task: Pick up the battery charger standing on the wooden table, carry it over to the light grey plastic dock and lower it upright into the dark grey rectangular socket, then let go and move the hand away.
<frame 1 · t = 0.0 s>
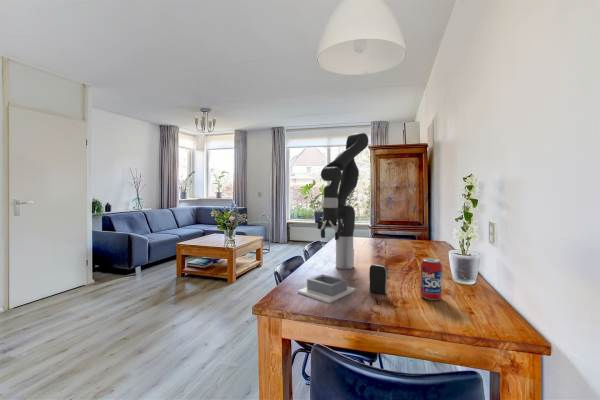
hand: (329, 238, 149), 17 cm above the table, tool pointing down, fingers open, 8 cm apart
soda can: (430, 298, 116), on the table
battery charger: (378, 292, 122), on the table
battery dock: (326, 291, 123), on the table
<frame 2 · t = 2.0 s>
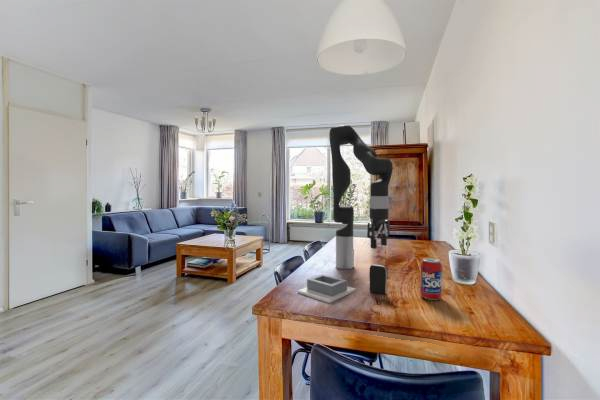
hand: (378, 246, 121), 19 cm above the table, tool pointing down, fingers open, 8 cm apart
nothing on the table moved.
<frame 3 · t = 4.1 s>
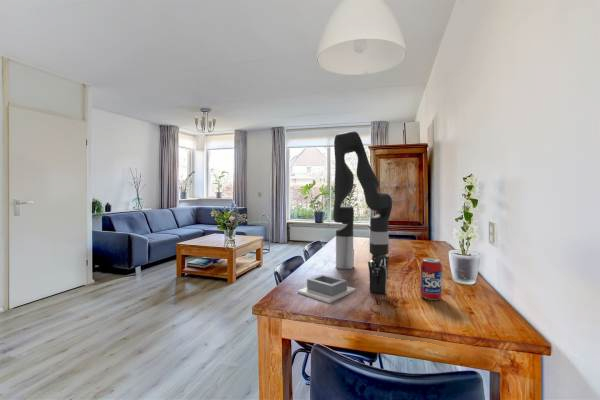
hand: (378, 283, 122), 4 cm above the table, tool pointing down, fingers closed on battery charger, 4 cm apart
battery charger: (378, 292, 122), on the table, touching gripper
everything else where it was.
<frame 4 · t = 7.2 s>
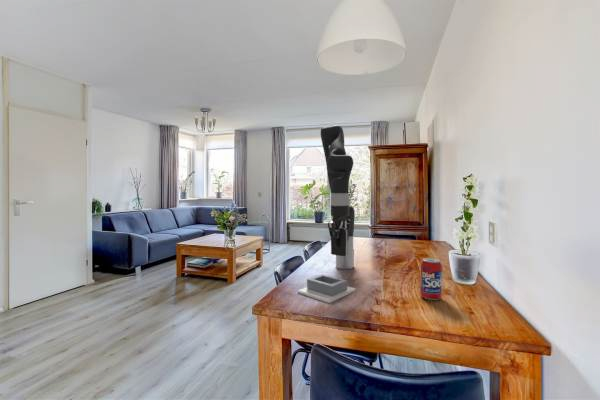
hand: (339, 245, 122), 19 cm above the table, tool pointing down, fingers closed on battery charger, 4 cm apart
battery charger: (339, 255, 122), point 15 cm above the table, touching gripper
everything else where it was.
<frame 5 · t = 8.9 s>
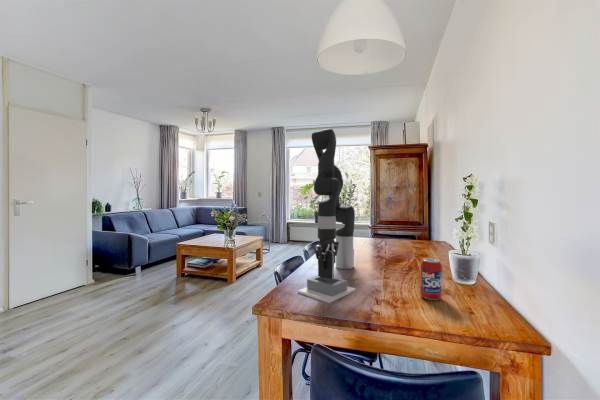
hand: (326, 267, 122), 10 cm above the table, tool pointing down, fingers closed on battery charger, 4 cm apart
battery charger: (326, 277, 123), point 6 cm above the table, touching gripper
everything else where it was.
when the fingers open (6 cm above the table, at t = 10.1 s): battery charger stays where it is, resting on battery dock.
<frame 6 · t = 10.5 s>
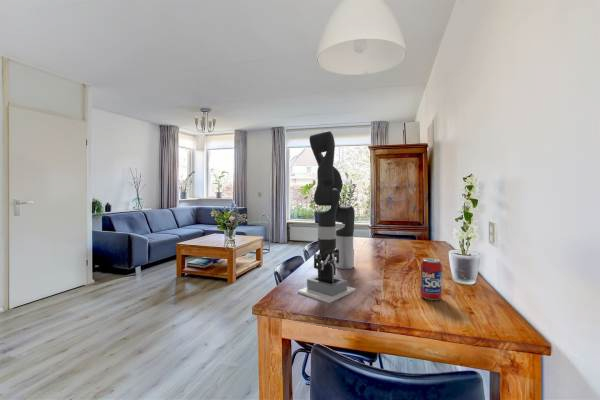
hand: (326, 276, 122), 6 cm above the table, tool pointing down, fingers open, 7 cm apart
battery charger: (327, 289, 123), point 1 cm above the table, touching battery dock
everything else where it was.
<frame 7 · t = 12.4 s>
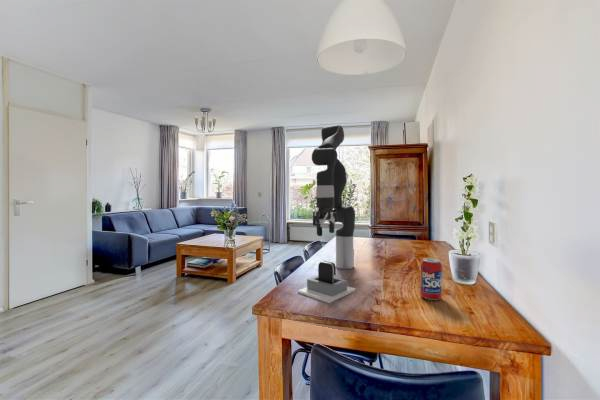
hand: (325, 234, 126), 23 cm above the table, tool pointing down, fingers open, 8 cm apart
nothing on the table moved.
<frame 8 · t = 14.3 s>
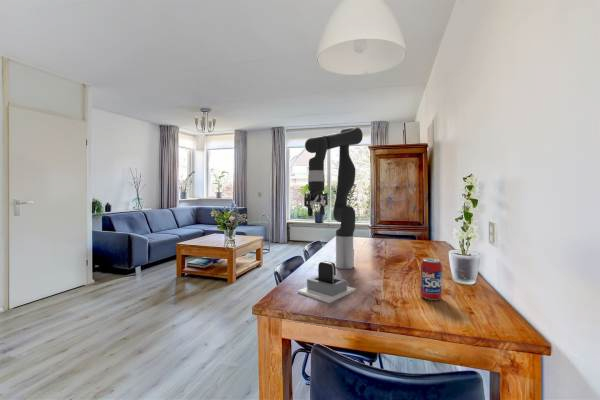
hand: (316, 215, 138), 30 cm above the table, tool pointing down, fingers open, 8 cm apart
nothing on the table moved.
at the end: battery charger 0.3 cm off-centre on the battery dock, point 0.8 cm above the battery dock's base; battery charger tilted 0°; the gripper is holding nothing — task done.
